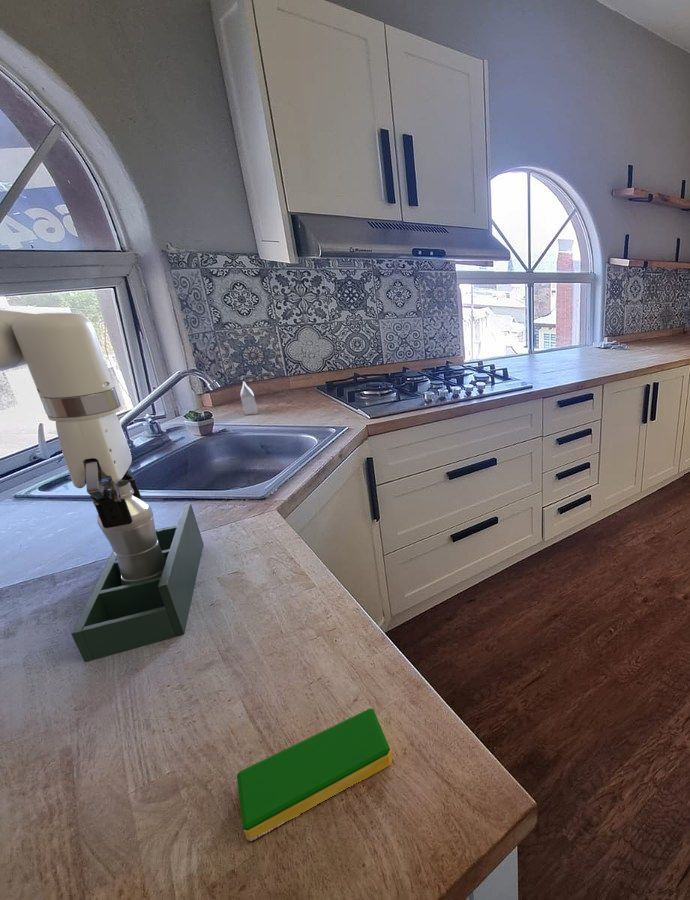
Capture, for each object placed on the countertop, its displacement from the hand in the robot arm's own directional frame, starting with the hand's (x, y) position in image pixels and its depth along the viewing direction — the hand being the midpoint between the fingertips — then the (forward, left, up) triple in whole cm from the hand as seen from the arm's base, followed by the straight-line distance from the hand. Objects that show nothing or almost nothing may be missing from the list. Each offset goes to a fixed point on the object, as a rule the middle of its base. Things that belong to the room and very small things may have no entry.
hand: (124, 513), depth 77 cm
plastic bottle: (0, 0, -15) cm, 15 cm away
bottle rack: (0, 0, -15) cm, 15 cm away
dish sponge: (+21, -48, -15) cm, 55 cm away
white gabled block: (+11, +105, -15) cm, 107 cm away
